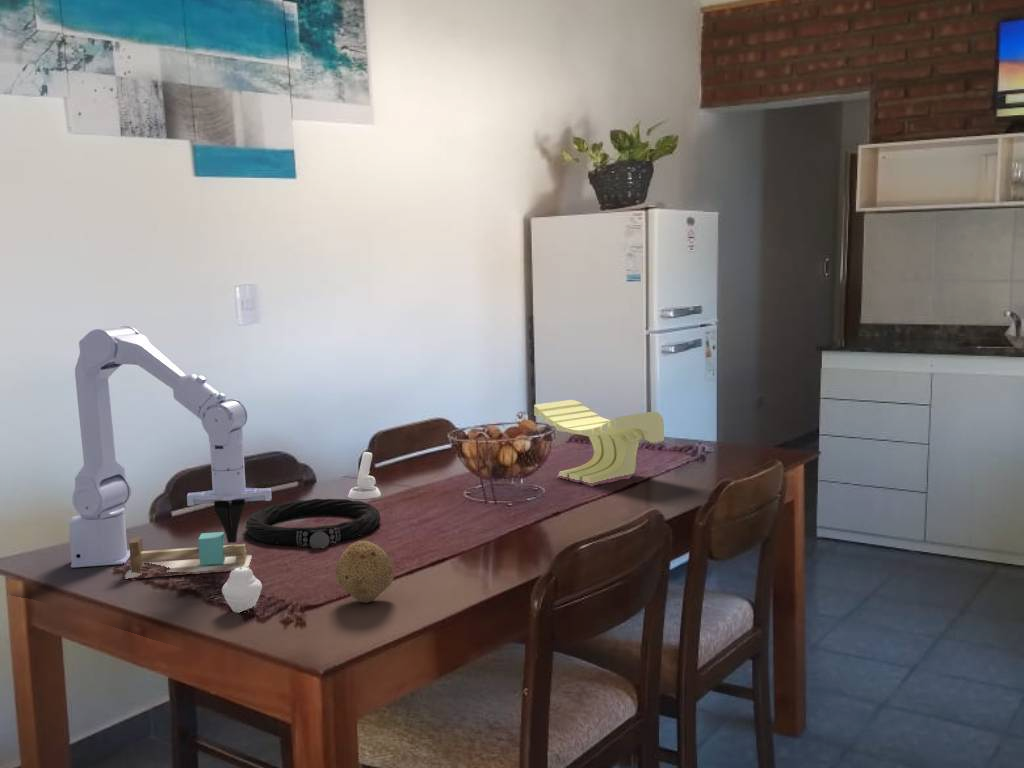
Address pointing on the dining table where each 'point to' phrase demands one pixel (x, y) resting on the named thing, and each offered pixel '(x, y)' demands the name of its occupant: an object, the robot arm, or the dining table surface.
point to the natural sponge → (364, 571)
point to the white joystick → (365, 481)
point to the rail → (184, 565)
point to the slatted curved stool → (603, 437)
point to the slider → (211, 548)
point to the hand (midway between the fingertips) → (232, 541)
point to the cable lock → (312, 535)
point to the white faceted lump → (241, 589)
